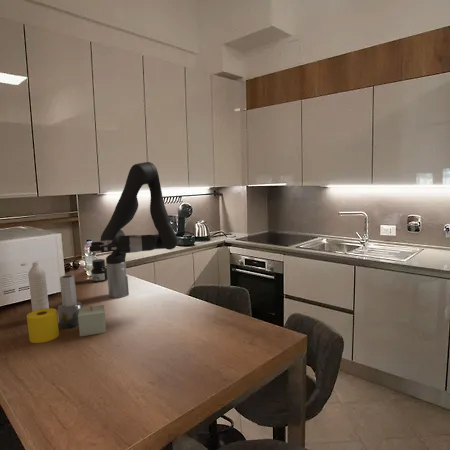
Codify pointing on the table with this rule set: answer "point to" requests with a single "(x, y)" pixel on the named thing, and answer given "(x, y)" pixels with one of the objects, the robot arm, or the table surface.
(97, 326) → the sage stand
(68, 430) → the table surface
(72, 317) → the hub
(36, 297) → the water bottle
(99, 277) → the ink bottle
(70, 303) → the sleeve
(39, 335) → the yellow toilet paper roll
